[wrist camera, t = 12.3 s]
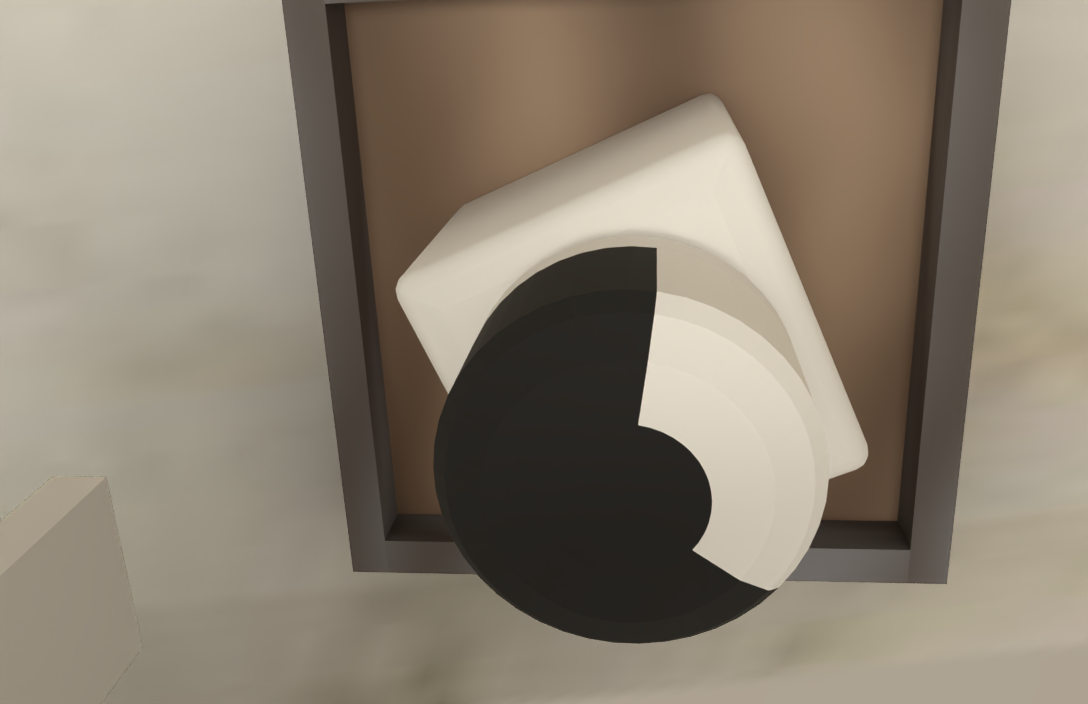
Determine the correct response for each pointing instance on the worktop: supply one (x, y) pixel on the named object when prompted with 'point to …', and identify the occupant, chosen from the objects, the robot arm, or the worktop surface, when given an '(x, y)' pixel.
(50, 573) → the robot arm
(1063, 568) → the worktop surface
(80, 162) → the worktop surface
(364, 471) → the wooden tray
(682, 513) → the medicine bottle
